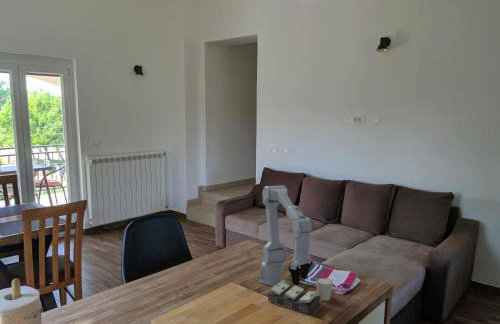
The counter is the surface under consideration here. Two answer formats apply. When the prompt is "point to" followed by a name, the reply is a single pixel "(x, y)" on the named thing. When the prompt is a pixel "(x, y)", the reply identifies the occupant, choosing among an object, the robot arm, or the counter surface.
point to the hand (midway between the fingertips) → (299, 281)
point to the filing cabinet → (294, 301)
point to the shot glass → (324, 288)
